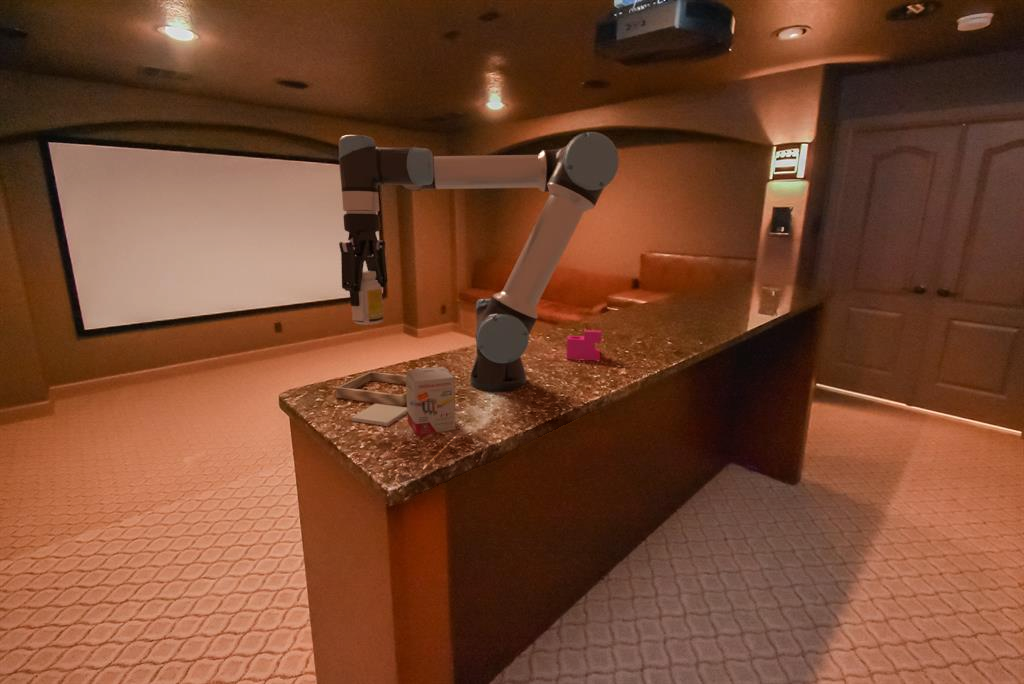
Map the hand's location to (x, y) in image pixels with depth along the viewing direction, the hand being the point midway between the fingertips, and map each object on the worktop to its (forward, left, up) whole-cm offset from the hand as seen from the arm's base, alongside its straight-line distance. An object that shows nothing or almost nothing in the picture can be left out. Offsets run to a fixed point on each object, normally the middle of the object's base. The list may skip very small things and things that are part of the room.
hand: (368, 317), depth 109 cm
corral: (+2, -8, -21) cm, 22 cm away
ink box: (-19, +7, -21) cm, 29 cm away
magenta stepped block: (-40, -58, -21) cm, 73 cm away
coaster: (-6, +6, -21) cm, 22 cm away
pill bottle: (0, 0, -1) cm, 1 cm away
